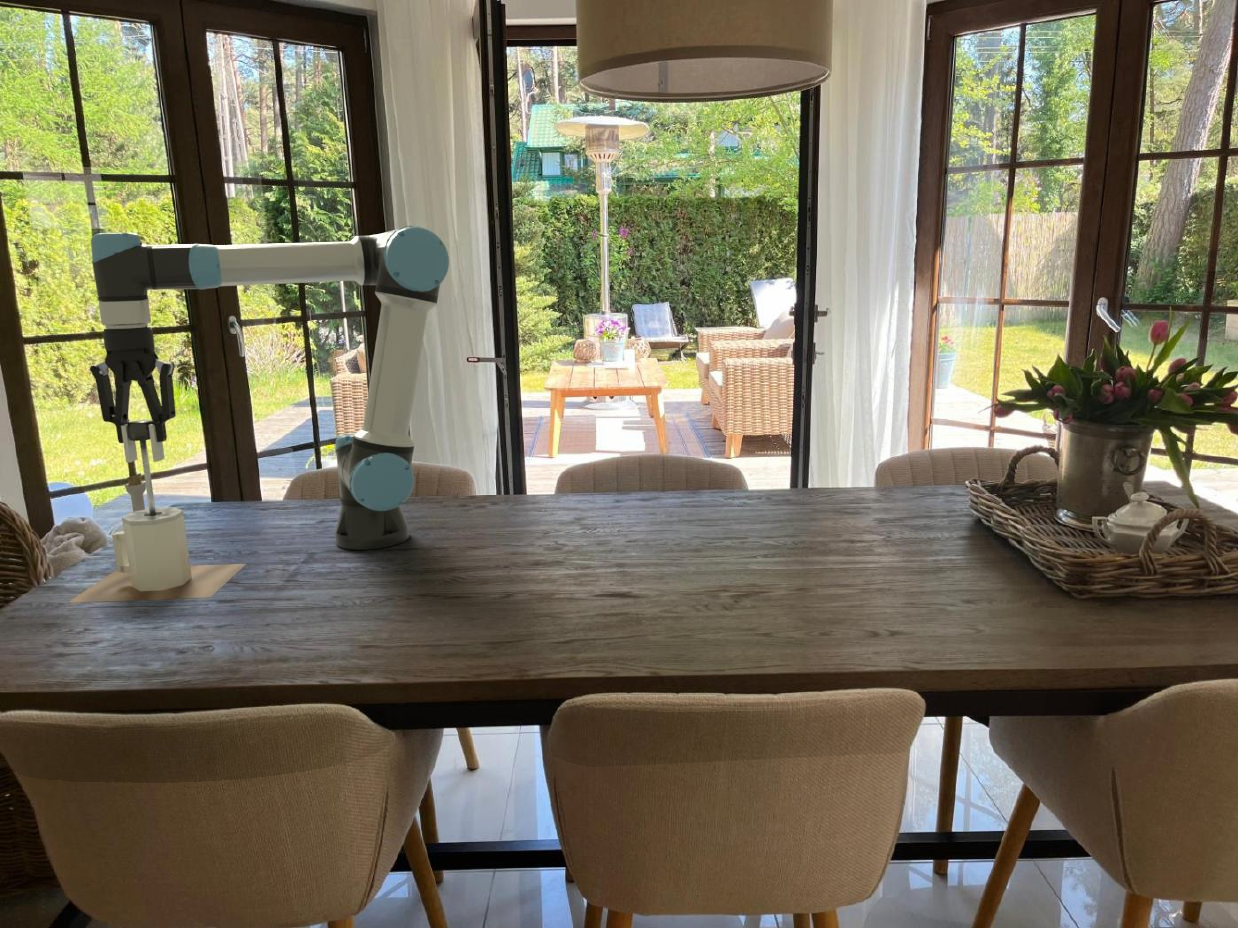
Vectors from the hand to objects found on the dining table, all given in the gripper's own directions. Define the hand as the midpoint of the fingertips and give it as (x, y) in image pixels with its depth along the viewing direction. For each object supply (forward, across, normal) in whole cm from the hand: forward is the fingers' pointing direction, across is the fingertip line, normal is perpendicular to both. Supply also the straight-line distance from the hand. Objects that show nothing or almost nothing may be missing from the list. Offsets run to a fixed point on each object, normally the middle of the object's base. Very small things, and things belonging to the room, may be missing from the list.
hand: (145, 460), depth 160 cm
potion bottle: (+24, +11, -18) cm, 32 cm away
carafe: (+23, +1, 0) cm, 23 cm away
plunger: (+13, 0, 0) cm, 13 cm away
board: (+24, 0, 0) cm, 24 cm away
